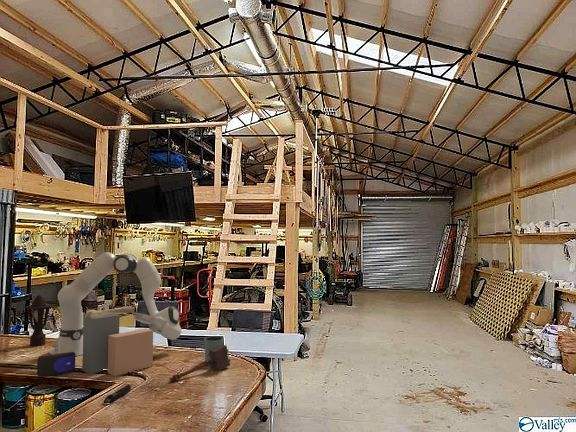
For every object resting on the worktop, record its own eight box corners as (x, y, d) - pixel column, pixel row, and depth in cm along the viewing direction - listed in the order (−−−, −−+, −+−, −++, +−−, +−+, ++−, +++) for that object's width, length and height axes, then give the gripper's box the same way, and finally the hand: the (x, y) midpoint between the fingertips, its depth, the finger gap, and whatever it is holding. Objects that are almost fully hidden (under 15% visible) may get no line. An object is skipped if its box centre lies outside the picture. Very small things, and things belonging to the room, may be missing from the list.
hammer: (231, 364, 217) (228, 345, 216) (176, 395, 193) (172, 373, 192) (222, 362, 221) (220, 343, 220) (167, 391, 197) (164, 370, 196)
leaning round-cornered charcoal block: (37, 378, 200) (37, 358, 200) (36, 376, 204) (37, 355, 204) (76, 372, 209) (76, 352, 209) (74, 370, 213) (75, 350, 213)
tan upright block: (107, 373, 208) (108, 335, 209) (145, 363, 223) (145, 328, 224) (115, 376, 203) (115, 337, 204) (152, 366, 219) (153, 330, 219)
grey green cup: (213, 357, 235) (214, 335, 236) (227, 360, 229) (227, 337, 230) (199, 361, 227) (200, 338, 227) (213, 365, 221) (213, 341, 221)
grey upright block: (82, 370, 212) (83, 317, 213) (109, 364, 223) (110, 313, 224) (90, 374, 206) (92, 319, 207) (118, 367, 217) (119, 315, 218)
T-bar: (86, 317, 213) (86, 310, 213) (129, 310, 231) (129, 305, 231) (93, 318, 209) (93, 312, 209) (136, 312, 226) (136, 306, 227)
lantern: (30, 342, 269) (32, 293, 271) (55, 341, 271) (56, 293, 272) (18, 348, 255) (20, 297, 256) (45, 347, 256) (46, 296, 258)
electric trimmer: (133, 391, 184) (133, 384, 184) (111, 405, 169) (111, 396, 169) (125, 391, 185) (125, 383, 185) (102, 404, 170) (102, 396, 170)
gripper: (149, 316, 248) (130, 306, 239) (170, 321, 235) (151, 310, 226) (144, 326, 245) (124, 317, 236) (165, 332, 232) (145, 322, 223)
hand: (137, 314), depth 231 cm, fingers open, 8 cm apart
